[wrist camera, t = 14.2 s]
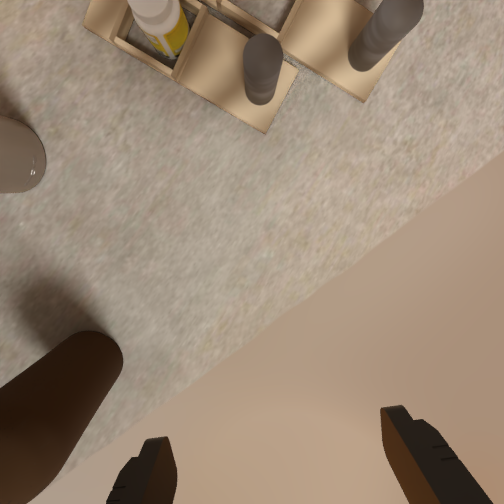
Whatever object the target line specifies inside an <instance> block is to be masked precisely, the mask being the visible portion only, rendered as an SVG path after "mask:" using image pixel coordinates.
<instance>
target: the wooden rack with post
mask: <svg viewBox="0 0 504 504" xmlns="http://www.w3.org/2000/svg"><path fill="white" fill-rule="evenodd" d="M179 2H180V4H181V6H182V7H183V8H185V9H187V10H188V11H190V12H191V13H193V14H195V15H196V16H197V17H196V19H195V21H194V24H193V26H192V28H191V30H190V33H189V35H188V37H187V39H186V42H185V44H184V46H183V48H182V51H181V53H180V55H179V57H178V60H177V62H176V64H175V67H174V69H173V70H172V69H170V68H169V67H167V66H165V65H164V64H162V63H160V62H159V61H157V60H155V59H154V58H152V57H150V56H148V55H147V54H145V53H143V52H142V51H140V50H138V49H137V48H135V47H133V46H132V45H130V44H128V43H127V42H125V40H126V37H127V35H128V33H129V30H130V28H131V25H132V23H133V20H134V16H133V13H132V9H131V7H130V5H129V3H128V1H127V0H91V2H90V5H89V7H88V10H87V13H86V15H85V18H84V21H83V24H82V25H83V26H84V27H85V28H86V29H88V30H89V31H91V32H93V33H94V34H96V35H98V36H99V37H101V38H103V39H104V40H106V41H108V42H110V43H111V44H113V45H115V46H116V47H118V48H120V49H121V50H123V51H125V52H126V53H128V54H130V55H131V56H133V57H135V58H137V59H138V60H140V61H142V62H143V63H145V64H147V65H148V66H150V67H152V68H153V69H155V70H157V71H159V72H160V73H162V74H164V75H165V76H167V77H169V78H170V79H172V80H174V81H175V82H177V83H179V84H181V85H182V86H184V87H186V88H187V89H189V90H191V91H192V92H194V93H196V94H197V95H199V96H201V97H203V98H204V99H206V100H208V101H209V102H211V103H213V104H214V105H216V106H218V107H219V108H221V109H223V110H225V111H226V112H228V113H230V114H231V115H233V116H235V117H236V118H238V119H240V120H241V121H243V122H245V123H247V124H248V125H250V126H252V127H253V128H255V129H257V130H258V131H260V132H262V133H263V134H266V132H267V130H268V128H269V126H270V125H271V123H272V121H273V119H274V117H275V115H276V113H277V111H278V109H279V107H280V106H281V104H282V102H283V100H284V98H285V96H286V94H287V92H288V90H289V89H290V87H291V85H292V83H293V81H294V79H295V77H296V75H297V73H298V71H299V70H298V69H297V68H295V67H294V66H292V65H290V64H289V63H287V62H286V61H284V60H283V50H282V47H281V44H280V43H279V41H278V40H277V39H276V38H275V37H274V36H272V35H270V34H266V33H261V34H257V35H255V36H253V37H252V38H250V39H249V38H247V37H246V36H244V35H243V34H241V33H239V32H238V31H236V30H235V29H233V28H231V27H230V26H228V25H227V24H225V23H223V22H222V21H220V20H219V19H217V18H215V17H214V16H212V15H211V14H209V12H208V8H207V6H205V5H203V4H202V3H200V2H199V1H197V0H179Z"/></svg>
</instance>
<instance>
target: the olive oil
mask: <svg viewBox="0 0 504 504" xmlns="http://www.w3.org/2000/svg"><path fill="white" fill-rule="evenodd" d="M122 367H123V357H122V353H121V351H120V349H119V347H118V346H117V345H116V343H115V342H114V341H113V340H111V339H110V338H109V337H107V336H105V335H103V334H101V333H98V332H94V331H82V332H78V333H76V334H73V335H72V336H70V337H68V338H67V339H66V340H65V341H63V342H62V343H61V344H59V345H58V346H57V347H55V348H54V349H53V350H52V351H50V352H49V353H47V354H46V355H45V356H43V357H42V358H41V359H39V360H38V361H37V362H35V363H34V364H33V365H31V366H30V367H29V368H27V369H26V370H25V371H23V372H22V373H20V374H19V375H18V376H16V377H15V378H14V379H12V380H11V381H10V382H8V383H7V384H5V385H4V386H3V387H1V388H0V504H27V503H28V502H30V501H31V500H32V499H33V498H35V497H36V496H37V495H38V494H39V493H40V492H42V491H43V490H44V489H45V488H46V487H47V486H48V485H49V484H50V483H51V482H52V481H53V480H54V478H55V477H56V476H57V475H58V473H59V472H60V470H61V469H62V467H63V466H64V464H65V462H66V461H67V459H68V457H69V456H70V454H71V452H72V451H73V449H74V447H75V446H76V444H77V442H78V441H79V439H80V437H81V436H82V434H83V432H84V431H85V429H86V427H87V426H88V424H89V423H90V421H91V419H92V418H93V416H94V414H95V413H96V411H97V410H98V408H99V406H100V405H101V403H102V401H103V400H104V398H105V397H106V395H107V394H108V392H109V391H110V389H111V387H112V386H113V384H114V383H115V381H116V380H117V378H118V377H119V375H120V373H121V371H122Z"/></svg>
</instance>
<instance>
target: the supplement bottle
mask: <svg viewBox="0 0 504 504" xmlns="http://www.w3.org/2000/svg"><path fill="white" fill-rule="evenodd" d="M127 1H128V3H129V5H130V7H131V9H132V13H133V16H134V19H135V21H136V23H137V24H138V26H139V27H140V28H141V30H142V31H143V33H144V34H145V35H146V37H147V38H148V40H149V41H150V42H151V44H152V45H153V46H154V48H155V49H156V51H157V52H158V53H159V54H160V55H162V56H163V57H165V58H168V59H178V57H179V55H180V53H181V51H182V48H183V46H184V44H185V42H186V39H187V37H188V35H189V33H190V30H191V29H190V26H189V24H188V22H187V19H186V16H185V14H184V12H183V9H182V7H181V4H180V2H179V0H127Z"/></svg>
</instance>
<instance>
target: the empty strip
mask: <svg viewBox="0 0 504 504" xmlns="http://www.w3.org/2000/svg"><path fill="white" fill-rule="evenodd" d="M201 1H203V2H204V3H206V4H207V5H209V6H211V7H212V8H214V9H215V10H217V11H218V12H220V13H222V14H223V15H225V16H226V17H228V18H230V19H231V20H233V21H234V22H236V23H237V24H239V25H241V26H242V27H244V28H245V29H247V30H249V31H250V32H252V33H253V34H255V35H257V34H261V33H266V34H270V35H272V36H274V37H275V38H276V39H277V40H278V41H279V43H280V44H281V47H282V50H283V53H285V54H287V55H288V56H290V57H291V58H293V59H294V60H296V61H298V62H299V63H301V64H302V65H304V66H306V67H307V68H309V69H310V70H312V71H313V72H315V73H317V74H318V75H320V76H321V77H323V78H325V79H326V80H328V81H329V82H331V83H332V84H334V85H336V86H337V87H339V88H340V89H342V90H344V91H345V92H347V93H348V94H350V95H352V96H353V97H355V98H356V99H358V100H359V101H361V102H363V103H364V102H365V101H366V100H367V98H368V96H369V95H370V93H371V91H372V90H373V88H374V86H375V85H376V83H377V81H378V79H379V78H380V76H381V74H382V73H383V71H384V69H385V67H386V66H387V64H388V62H389V61H390V59H391V57H392V55H393V54H394V52H395V50H396V49H397V47H398V45H399V44H400V42H401V40H402V39H403V38H404V37H405V36H406V35H407V34H408V33H409V32H410V31H411V30H412V29H413V28H414V27H415V26H416V25H417V24H418V22H419V21H420V19H421V17H422V14H423V9H424V3H423V0H383V1H382V2H381V4H380V5H379V7H378V8H377V9H376V11H375V12H374V14H373V13H372V12H370V11H369V10H367V9H366V8H364V7H363V6H362V5H360V4H359V3H357V2H356V1H354V0H296V1H295V3H294V5H293V7H292V9H291V11H290V13H289V15H288V17H287V19H286V21H285V23H284V25H283V27H282V29H281V31H280V33H278V32H276V31H274V30H273V29H271V28H270V27H268V26H267V25H265V24H263V23H262V22H260V21H259V20H257V19H256V18H254V17H252V16H251V15H249V14H248V13H246V12H245V11H243V10H242V9H240V8H238V7H237V6H235V5H234V4H232V3H231V2H229V0H201Z"/></svg>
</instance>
